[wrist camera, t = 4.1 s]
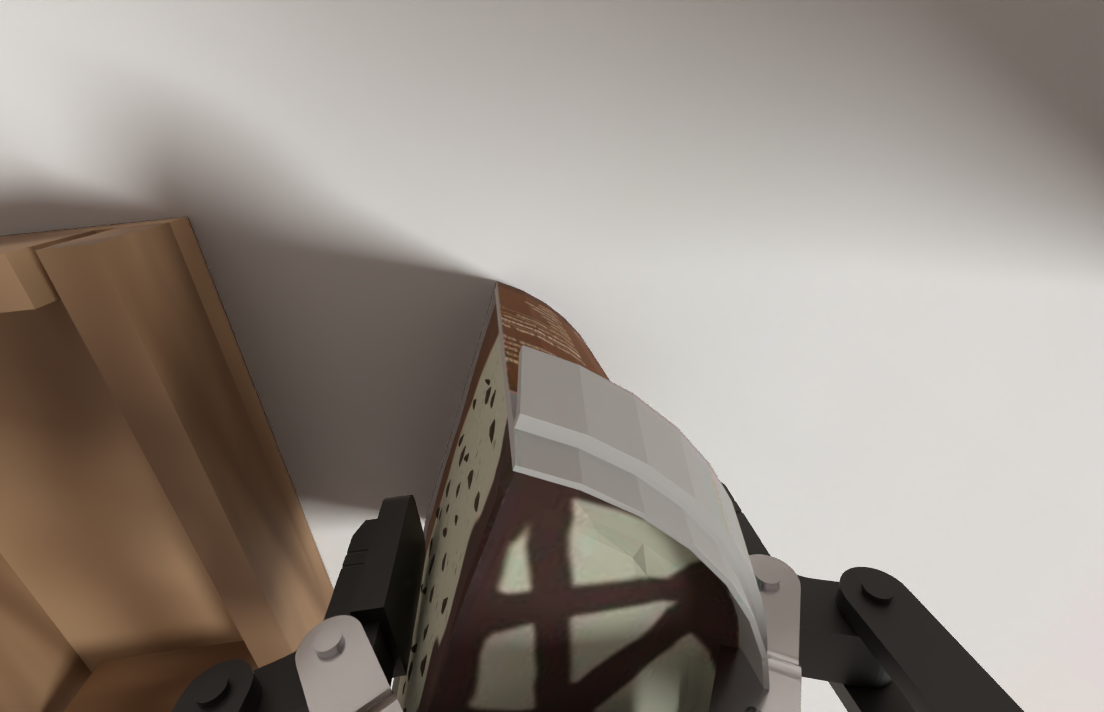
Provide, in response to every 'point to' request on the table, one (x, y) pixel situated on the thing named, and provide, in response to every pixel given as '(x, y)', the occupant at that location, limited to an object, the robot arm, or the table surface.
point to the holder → (135, 479)
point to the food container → (573, 543)
